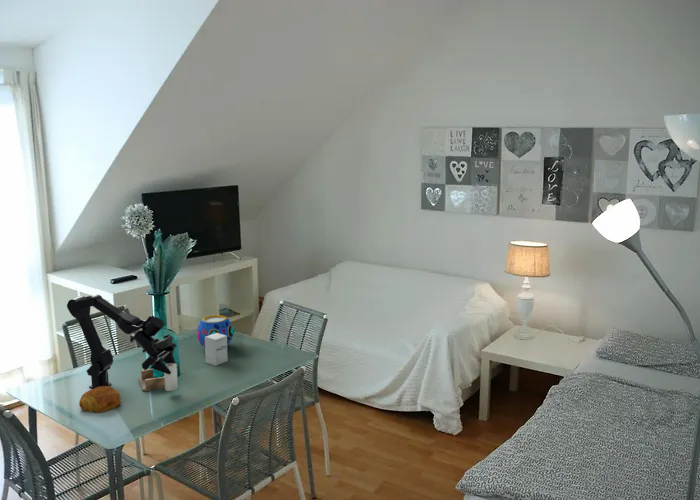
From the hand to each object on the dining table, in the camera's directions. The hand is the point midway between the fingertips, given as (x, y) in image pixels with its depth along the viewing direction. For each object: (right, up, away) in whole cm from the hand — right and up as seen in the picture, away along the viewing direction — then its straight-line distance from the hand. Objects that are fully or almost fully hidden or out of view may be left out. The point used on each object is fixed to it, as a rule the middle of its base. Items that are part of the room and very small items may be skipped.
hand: (173, 371), depth 256 cm
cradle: (-11, -8, +13) cm, 19 cm away
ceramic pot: (+5, +1, +55) cm, 55 cm away
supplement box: (+10, -3, +37) cm, 38 cm away
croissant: (-26, -12, -8) cm, 30 cm away
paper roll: (-1, -7, +2) cm, 8 cm away
